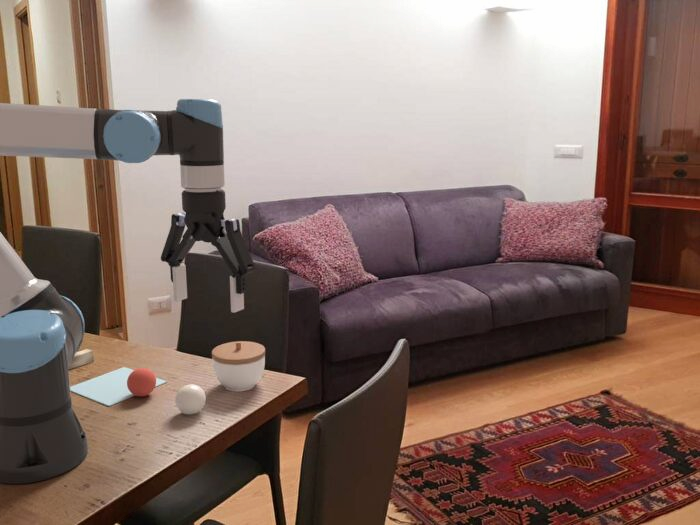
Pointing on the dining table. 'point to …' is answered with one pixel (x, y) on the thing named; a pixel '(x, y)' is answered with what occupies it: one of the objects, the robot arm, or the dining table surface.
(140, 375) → the red ball
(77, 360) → the stopper strip
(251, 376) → the lidded jar
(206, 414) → the dining table surface
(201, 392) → the cue ball
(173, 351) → the dining table surface
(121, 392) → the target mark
